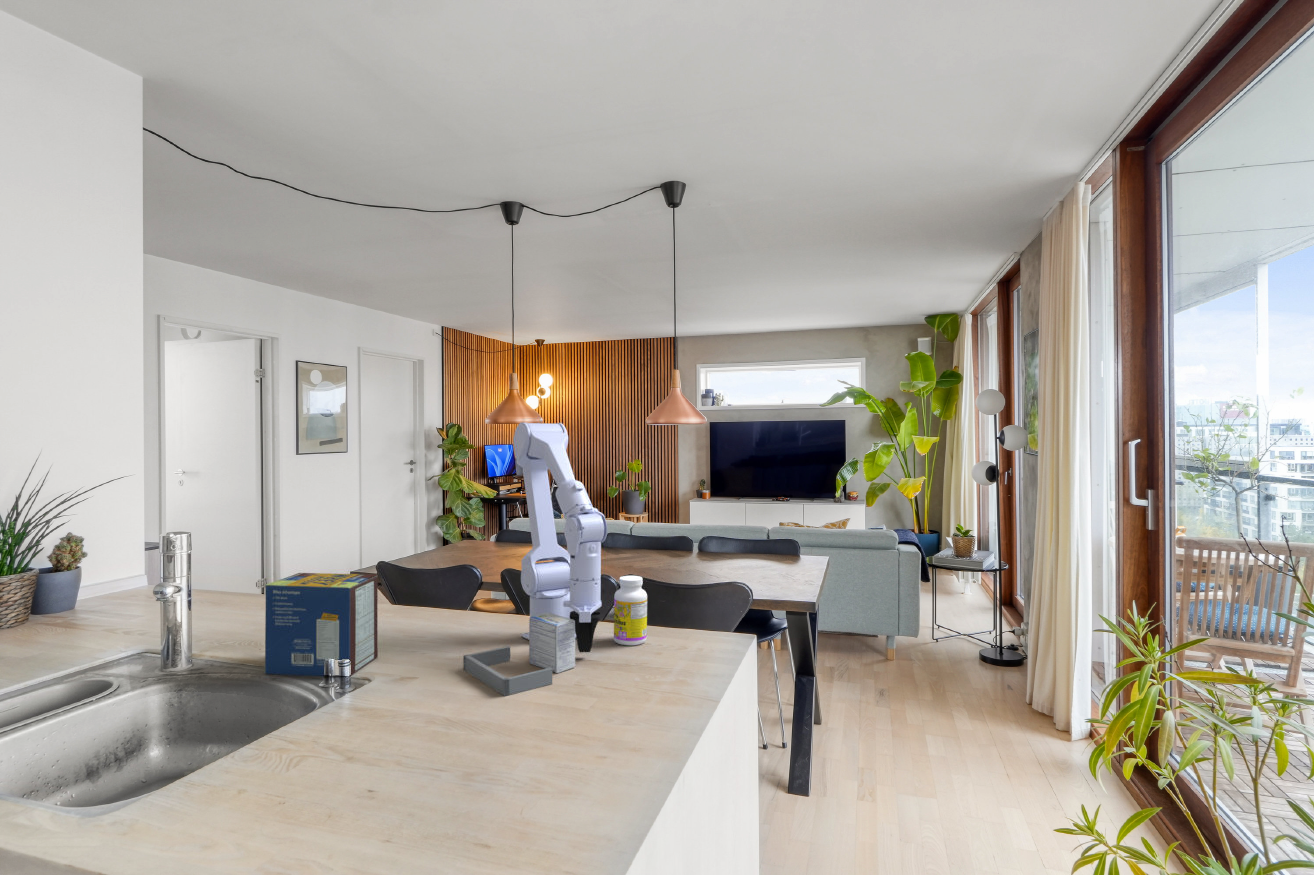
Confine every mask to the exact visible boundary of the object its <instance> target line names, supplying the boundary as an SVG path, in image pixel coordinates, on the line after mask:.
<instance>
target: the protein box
mask: <svg viewBox="0 0 1314 875" xmlns="http://www.w3.org/2000/svg"><path fill="white" fill-rule="evenodd" d="M264 585H265V586H264V587H265V624H264V625H265V630H264V631H265V634H264V635H265V637H264V639H265V641H264V644H265V645H264V646H265V649H264V674H265V675H281V676H282V675H285V676H287V675H288V676H289V675H290V676H314V677H325V676H324V661H325V659H328V658H331V659H335V660H342V659H349V660H350V661H351V676H353V675H355V673H357V672H359V671H360V670H361V669H363V668H364V667H366V666H367V665H368V664H370V663H372V662H373V661H374V660H375V659H378V656H379V654H378V651H379V650H378V649H379V648H378V632H379V630H378V622H379V621H378V616H379V615H378V602H379V601H378V592H379V591H378V590H379V589H378V587H379V586H378V585H379V584H378V574H373V573H372V574H371V573H364V574H363V573H362V574H361V573H327V572H326V573H322V572H321V573H318V572H317V573H315V572H314V573H313V572H298V573H295V574H293V575H289V576H287V577H284V578H281V579H278V580H275V581H273V582H269V583H267V584H264Z"/></svg>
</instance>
